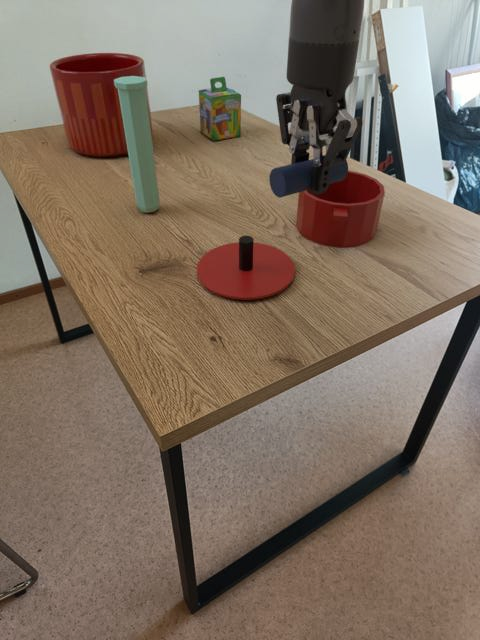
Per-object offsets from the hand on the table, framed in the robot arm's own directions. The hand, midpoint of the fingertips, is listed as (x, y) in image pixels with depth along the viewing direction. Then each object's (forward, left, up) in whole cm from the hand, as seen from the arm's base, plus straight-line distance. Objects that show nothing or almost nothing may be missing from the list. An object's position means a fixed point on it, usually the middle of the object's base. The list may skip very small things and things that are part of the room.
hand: (308, 186), depth 59 cm
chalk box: (+28, -74, -19) cm, 82 cm away
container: (+33, -25, -19) cm, 46 cm away
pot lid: (+9, -6, -19) cm, 22 cm away
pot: (-6, -25, -19) cm, 33 cm away
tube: (0, 0, 0) cm, 0 cm away
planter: (+56, -61, -19) cm, 86 cm away
